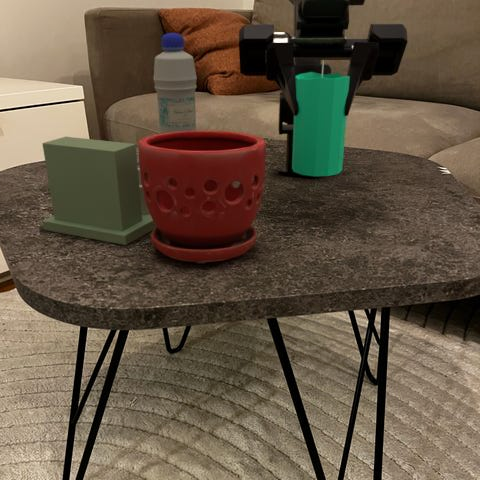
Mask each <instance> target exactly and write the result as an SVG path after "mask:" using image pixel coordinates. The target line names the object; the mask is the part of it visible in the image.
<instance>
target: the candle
mask: <svg viewBox="0 0 480 480" xmlns="http://www.w3.org/2000/svg"><path fill="white" fill-rule="evenodd" d="M321 64H322V74H319V73H314V72H308V73H303V74H299V75H297V76H295V79H296V99H297V102H298V115H297V116H294V126H293V152H292V169H293V171H294V172H296V173H299V174H301V175H308V176H318V177H329V176H330V177H331V176H335V175H339V174H340V173H341V172H343V165H344V152H345V141H346V127H347V117H348V116H345V104H346V98H347V95H348V91H349V80H350V76H347V75H345V76H344V75H342V74H340V73H339V72H334V73H331V74H325V75H324V74H323V67H324V64H325V60H322V61H321Z"/></svg>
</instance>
